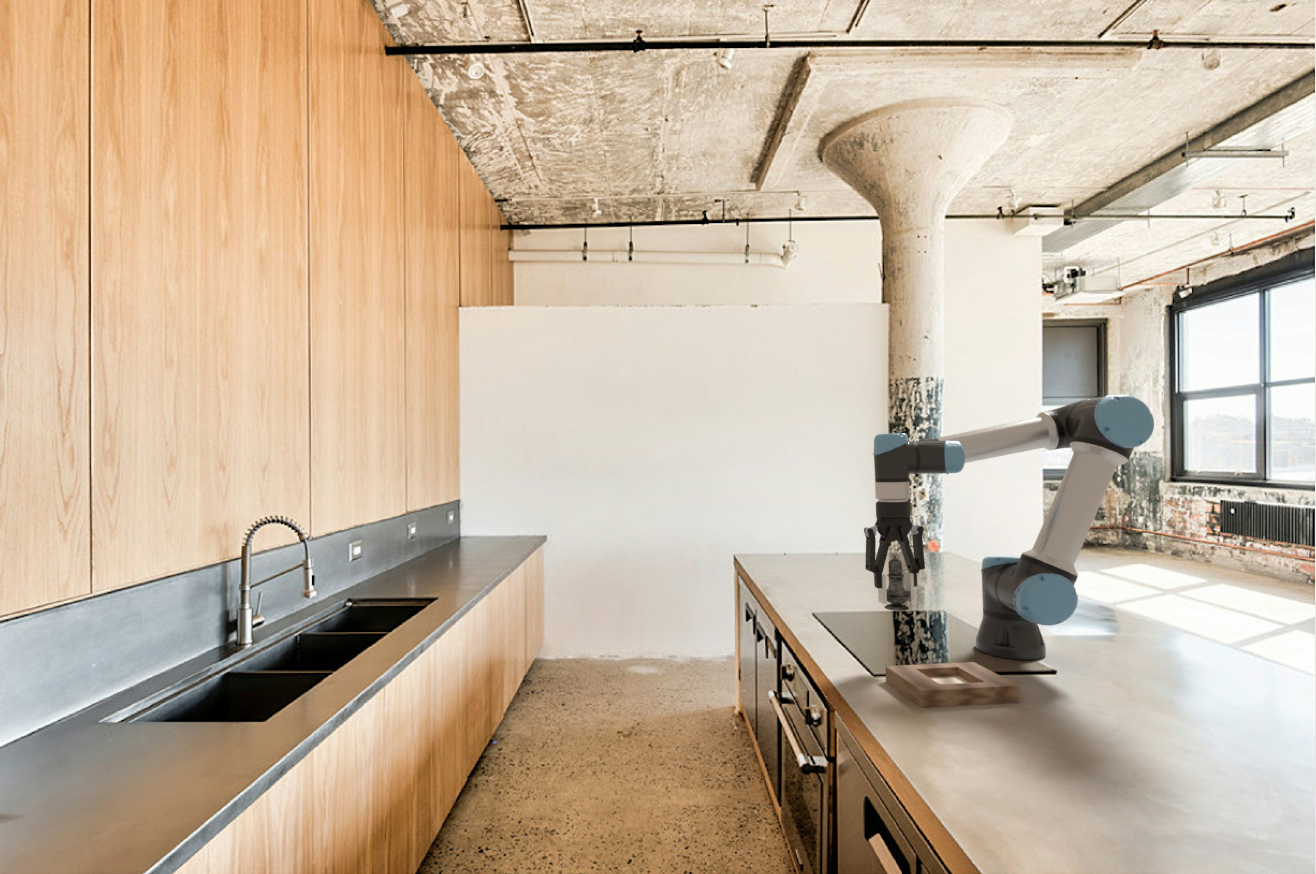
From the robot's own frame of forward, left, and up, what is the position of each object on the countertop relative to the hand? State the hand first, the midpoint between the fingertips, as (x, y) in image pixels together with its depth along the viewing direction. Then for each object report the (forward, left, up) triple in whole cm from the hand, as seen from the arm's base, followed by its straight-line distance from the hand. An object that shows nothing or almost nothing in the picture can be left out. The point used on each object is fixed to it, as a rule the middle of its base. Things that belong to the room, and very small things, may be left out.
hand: (896, 601), depth 151 cm
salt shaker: (0, 0, -2) cm, 2 cm away
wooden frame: (-3, +17, -15) cm, 22 cm away
